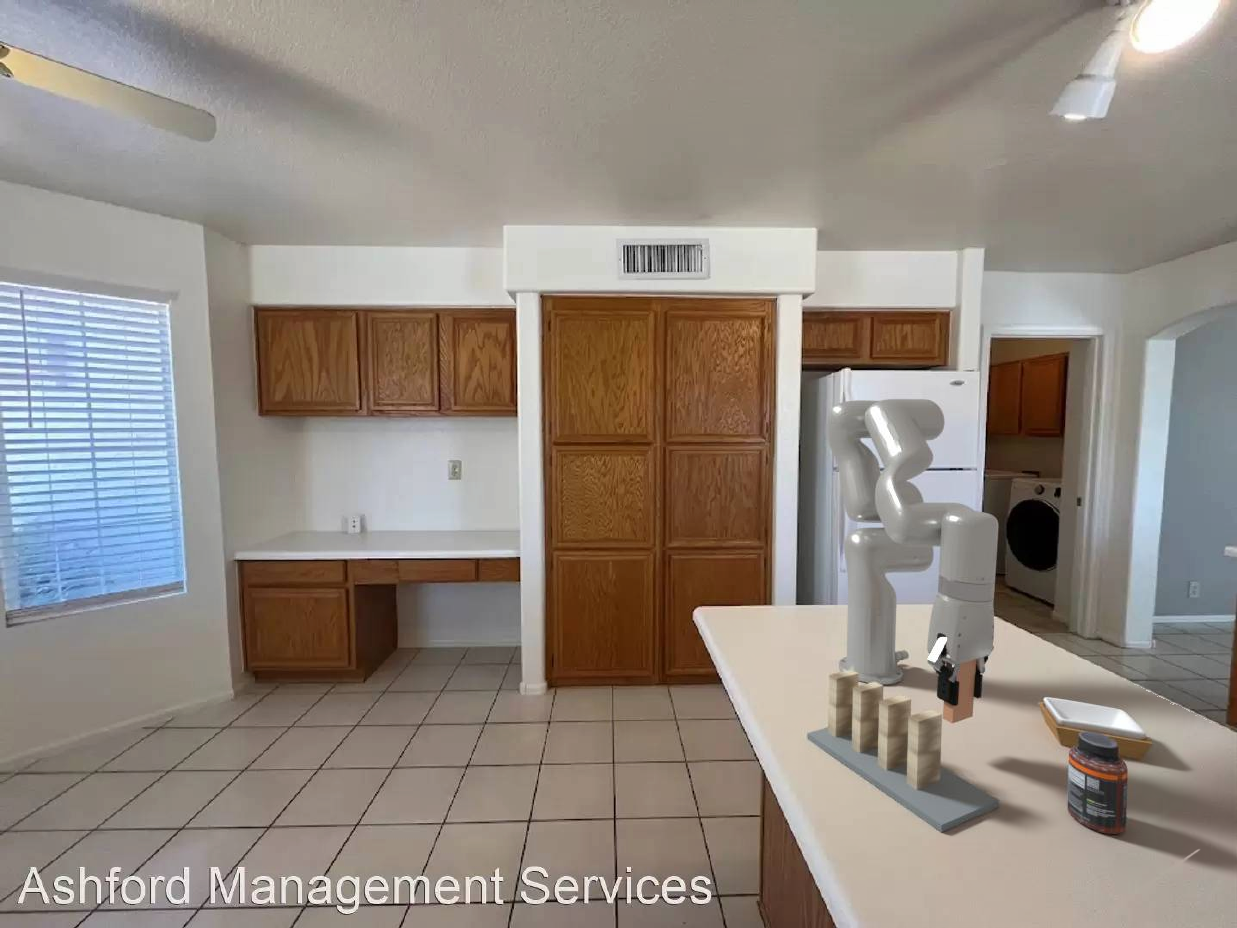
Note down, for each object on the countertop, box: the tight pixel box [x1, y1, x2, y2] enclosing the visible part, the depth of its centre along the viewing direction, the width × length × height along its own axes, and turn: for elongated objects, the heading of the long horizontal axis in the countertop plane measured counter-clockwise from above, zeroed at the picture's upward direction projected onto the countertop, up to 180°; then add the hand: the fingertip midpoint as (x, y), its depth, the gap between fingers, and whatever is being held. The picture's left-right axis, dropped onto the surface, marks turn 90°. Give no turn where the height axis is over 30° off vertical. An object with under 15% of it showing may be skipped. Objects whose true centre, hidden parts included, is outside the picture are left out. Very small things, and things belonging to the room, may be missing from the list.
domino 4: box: [907, 709, 943, 790], centre depth 79 cm, size 5×2×10 cm, turn 114°
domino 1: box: [827, 670, 859, 737], centre depth 93 cm, size 5×2×10 cm, turn 114°
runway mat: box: [806, 727, 1000, 833], centre depth 84 cm, size 12×24×1 cm, turn 24°
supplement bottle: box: [1067, 731, 1129, 835], centre depth 73 cm, size 6×6×11 cm
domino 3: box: [878, 694, 912, 770], centre depth 84 cm, size 5×2×10 cm, turn 114°
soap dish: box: [1037, 696, 1154, 760], centre depth 92 cm, size 12×10×5 cm
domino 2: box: [852, 682, 884, 752], centre depth 88 cm, size 5×2×10 cm, turn 114°
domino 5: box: [942, 659, 976, 724], centre depth 88 cm, size 5×2×10 cm, turn 114°
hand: (958, 696), depth 88 cm, fingers closed on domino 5, 4 cm apart
